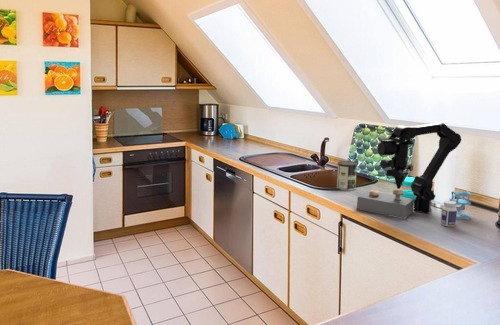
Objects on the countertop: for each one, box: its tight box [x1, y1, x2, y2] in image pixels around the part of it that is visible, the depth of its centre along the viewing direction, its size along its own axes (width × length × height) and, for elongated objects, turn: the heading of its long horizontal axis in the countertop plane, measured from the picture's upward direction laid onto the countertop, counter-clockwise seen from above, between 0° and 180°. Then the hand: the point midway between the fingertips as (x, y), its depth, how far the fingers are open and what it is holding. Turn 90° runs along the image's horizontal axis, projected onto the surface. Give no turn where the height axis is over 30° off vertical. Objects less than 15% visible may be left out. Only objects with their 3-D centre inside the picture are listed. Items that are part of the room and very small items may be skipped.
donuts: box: [400, 176, 417, 200], centre depth 219 cm, size 10×10×10 cm
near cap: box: [392, 188, 404, 201], centre depth 195 cm, size 4×4×7 cm
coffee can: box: [336, 160, 358, 191], centre depth 237 cm, size 10×10×14 cm
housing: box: [356, 190, 414, 219], centre depth 199 cm, size 22×12×6 cm, turn 53°
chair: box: [449, 190, 472, 220], centre depth 192 cm, size 8×8×12 cm
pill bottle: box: [440, 200, 458, 228], centre depth 181 cm, size 6×6×10 cm
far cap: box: [368, 189, 380, 197], centre depth 202 cm, size 4×4×7 cm
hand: (398, 188), depth 194 cm, fingers closed
